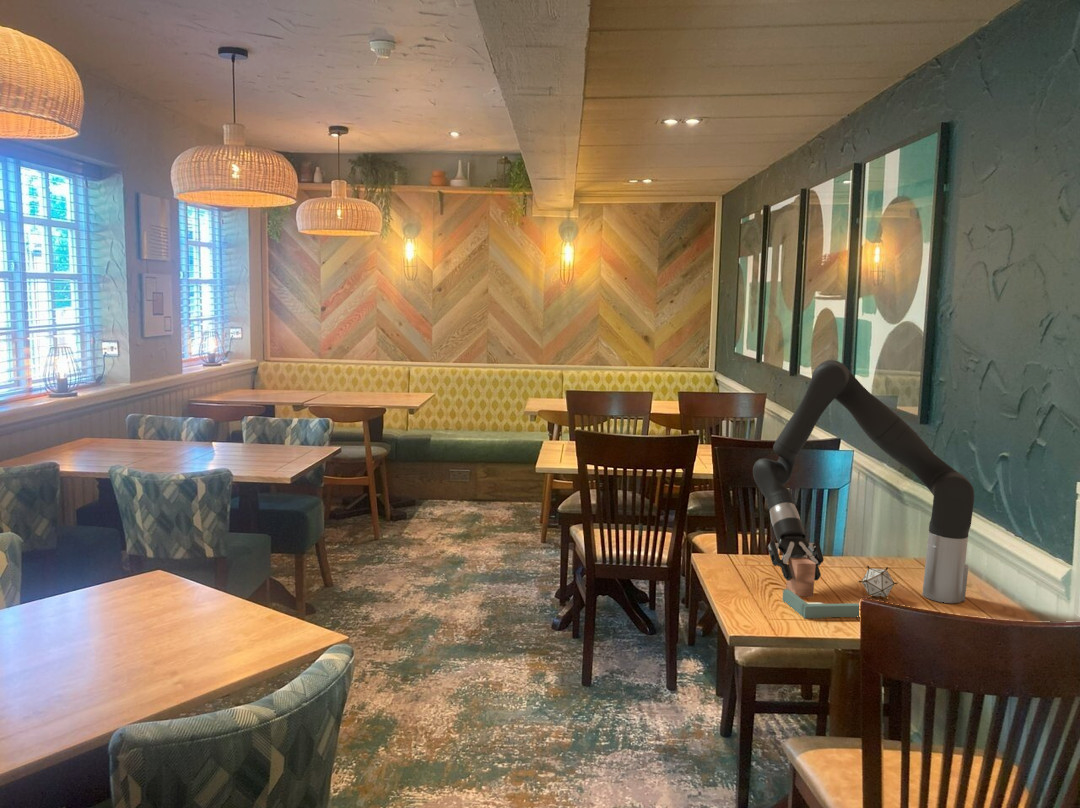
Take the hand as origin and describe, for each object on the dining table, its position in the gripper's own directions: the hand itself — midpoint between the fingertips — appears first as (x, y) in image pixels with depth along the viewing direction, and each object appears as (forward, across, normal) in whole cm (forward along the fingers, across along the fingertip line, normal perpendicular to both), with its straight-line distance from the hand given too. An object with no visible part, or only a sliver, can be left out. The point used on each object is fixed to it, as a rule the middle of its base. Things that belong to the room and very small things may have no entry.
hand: (803, 579), depth 205 cm
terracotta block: (+2, 0, +4) cm, 5 cm away
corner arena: (+10, +1, -3) cm, 10 cm away
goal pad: (+10, -2, -4) cm, 11 cm away
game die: (+4, +20, +2) cm, 21 cm away
